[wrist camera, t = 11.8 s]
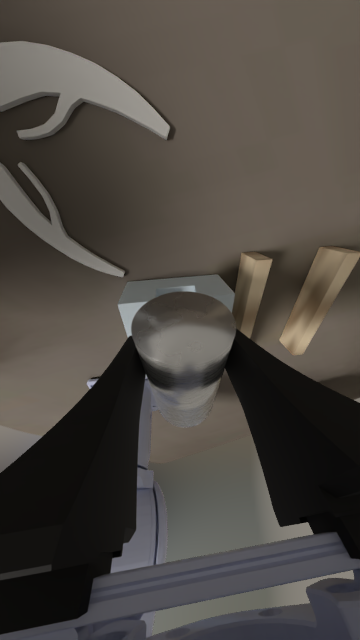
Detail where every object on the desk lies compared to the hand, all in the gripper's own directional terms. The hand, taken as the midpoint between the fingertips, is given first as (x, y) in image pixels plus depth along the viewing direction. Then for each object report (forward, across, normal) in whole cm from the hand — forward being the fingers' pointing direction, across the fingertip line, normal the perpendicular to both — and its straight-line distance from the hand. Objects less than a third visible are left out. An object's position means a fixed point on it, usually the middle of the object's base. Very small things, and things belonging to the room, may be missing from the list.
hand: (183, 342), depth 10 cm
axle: (+2, 0, +2) cm, 3 cm away
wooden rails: (+6, -10, +2) cm, 12 cm away
